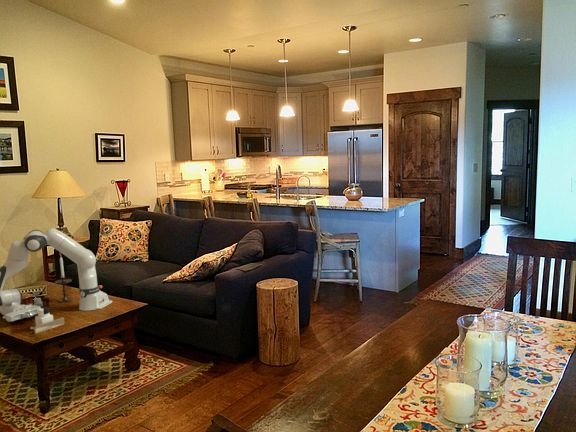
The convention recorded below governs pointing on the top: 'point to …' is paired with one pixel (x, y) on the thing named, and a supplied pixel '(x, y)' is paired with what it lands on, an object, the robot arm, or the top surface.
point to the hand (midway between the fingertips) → (30, 315)
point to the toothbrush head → (38, 302)
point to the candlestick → (63, 283)
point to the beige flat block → (48, 325)
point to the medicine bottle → (43, 316)
